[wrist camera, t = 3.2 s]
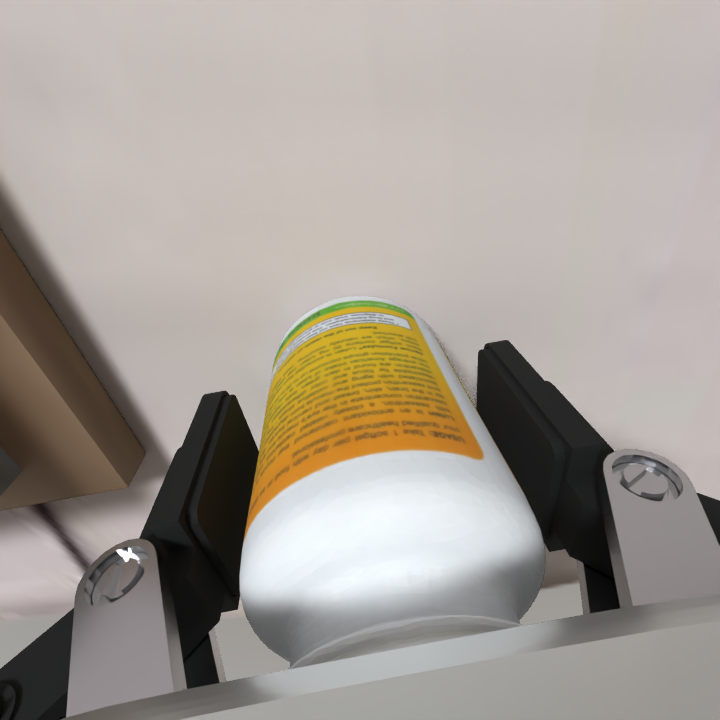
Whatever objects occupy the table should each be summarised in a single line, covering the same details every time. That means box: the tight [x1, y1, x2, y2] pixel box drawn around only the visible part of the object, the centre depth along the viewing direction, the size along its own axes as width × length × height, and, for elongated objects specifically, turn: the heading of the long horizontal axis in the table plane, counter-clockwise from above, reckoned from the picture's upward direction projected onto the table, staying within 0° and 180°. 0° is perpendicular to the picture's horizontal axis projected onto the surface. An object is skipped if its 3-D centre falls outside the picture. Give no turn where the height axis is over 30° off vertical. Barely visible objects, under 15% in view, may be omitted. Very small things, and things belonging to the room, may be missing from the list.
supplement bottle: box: [240, 296, 545, 670], centre depth 8 cm, size 5×5×10 cm
